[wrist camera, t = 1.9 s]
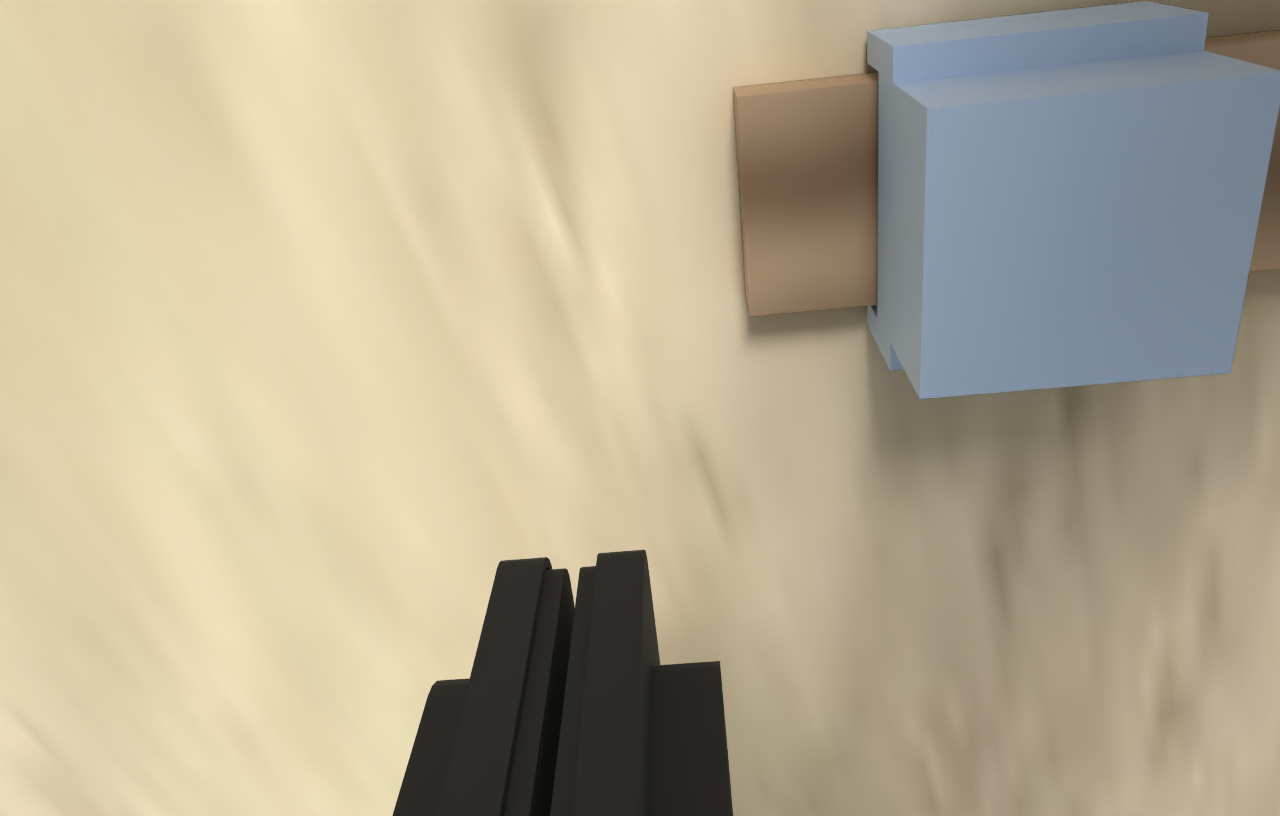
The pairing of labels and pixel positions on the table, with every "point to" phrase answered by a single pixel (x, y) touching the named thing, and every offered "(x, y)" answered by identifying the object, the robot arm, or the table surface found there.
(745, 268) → the rail
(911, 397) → the table surface
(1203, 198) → the block
